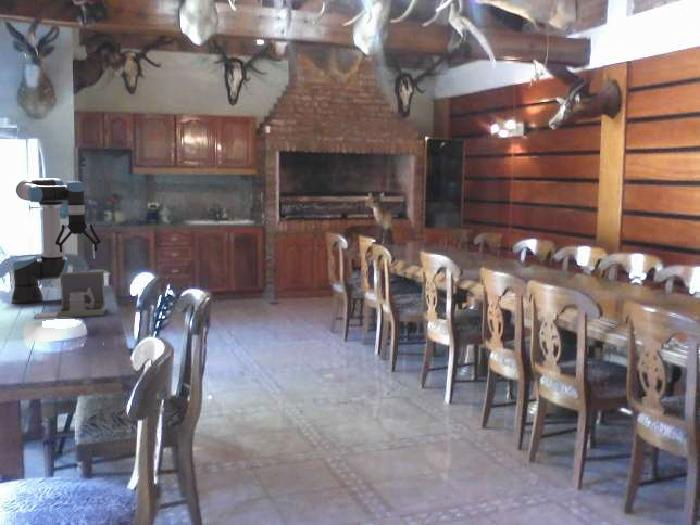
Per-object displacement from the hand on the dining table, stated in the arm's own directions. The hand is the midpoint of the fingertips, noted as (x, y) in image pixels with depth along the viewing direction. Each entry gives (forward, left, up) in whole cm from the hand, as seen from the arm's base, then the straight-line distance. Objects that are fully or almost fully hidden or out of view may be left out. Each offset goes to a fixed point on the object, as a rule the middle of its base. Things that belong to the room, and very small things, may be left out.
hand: (79, 258), depth 354 cm
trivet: (+1, -16, -27) cm, 31 cm away
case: (0, 0, -27) cm, 27 cm away
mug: (0, 0, -26) cm, 26 cm away
